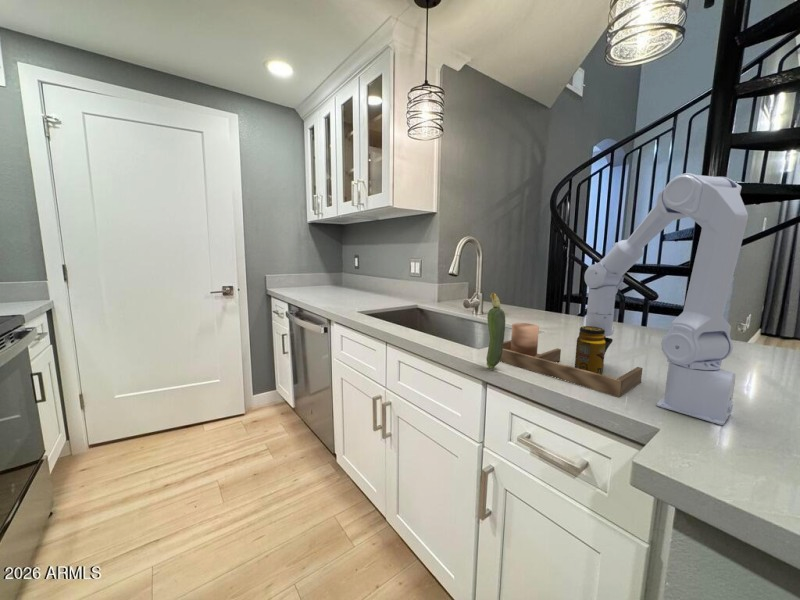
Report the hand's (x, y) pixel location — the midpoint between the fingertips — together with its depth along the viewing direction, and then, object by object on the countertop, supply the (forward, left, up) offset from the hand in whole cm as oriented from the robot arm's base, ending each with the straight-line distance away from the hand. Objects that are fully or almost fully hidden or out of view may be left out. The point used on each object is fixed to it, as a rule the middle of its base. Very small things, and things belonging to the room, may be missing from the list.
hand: (595, 365), depth 84 cm
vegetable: (+16, +20, -2) cm, 26 cm away
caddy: (+6, +7, -1) cm, 9 cm away
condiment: (0, +6, -2) cm, 6 cm away
